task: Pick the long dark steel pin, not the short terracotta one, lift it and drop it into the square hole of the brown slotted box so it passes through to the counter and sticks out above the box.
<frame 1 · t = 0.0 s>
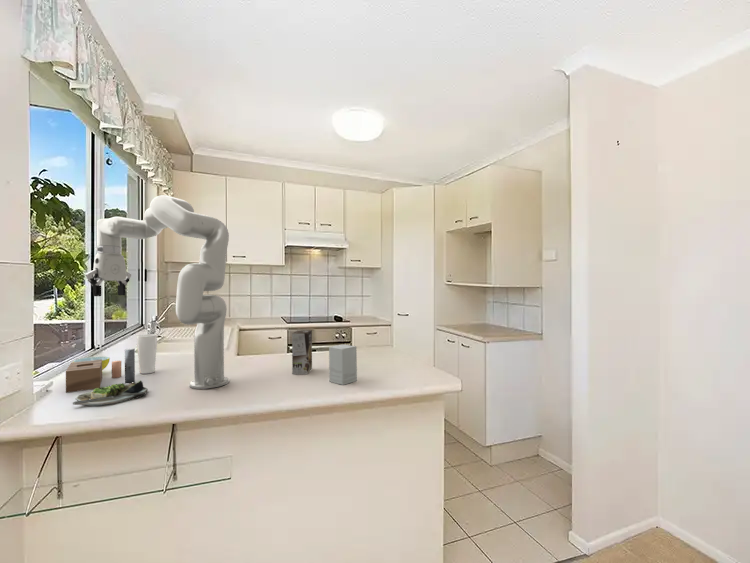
hand: (109, 295, 138), 31 cm above the countertop, tool pointing down, fingers open, 9 cm apart
long pin: (129, 382, 130), on the countertop
brown slotted box: (85, 384, 128), on the countertop
coffee box: (302, 372, 144), on the countertop
supplement box: (343, 381, 130), on the countertop
bowl: (91, 375, 141), on the countertop
drinking glass: (147, 373, 144), on the countertop
salad plate: (115, 398, 114), on the countertop
short pin: (116, 377, 138), on the countertop
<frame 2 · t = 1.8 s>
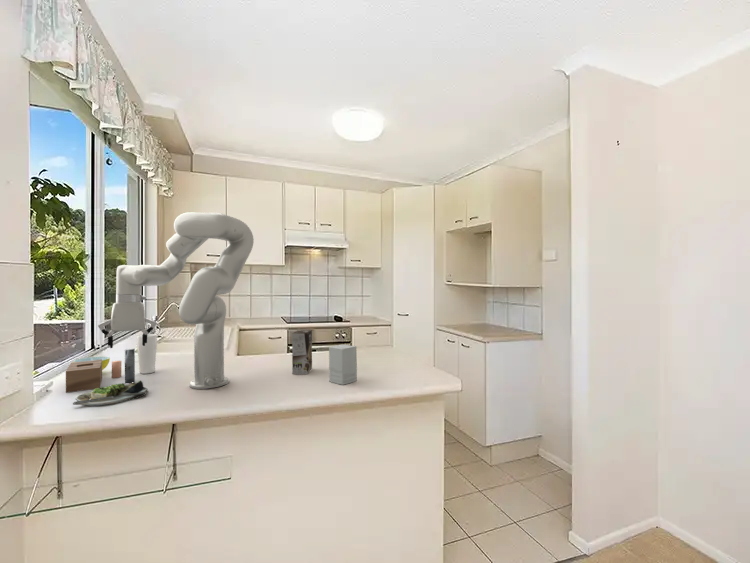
hand: (127, 346, 130), 13 cm above the countertop, tool pointing down, fingers open, 9 cm apart
nothing on the countertop moved.
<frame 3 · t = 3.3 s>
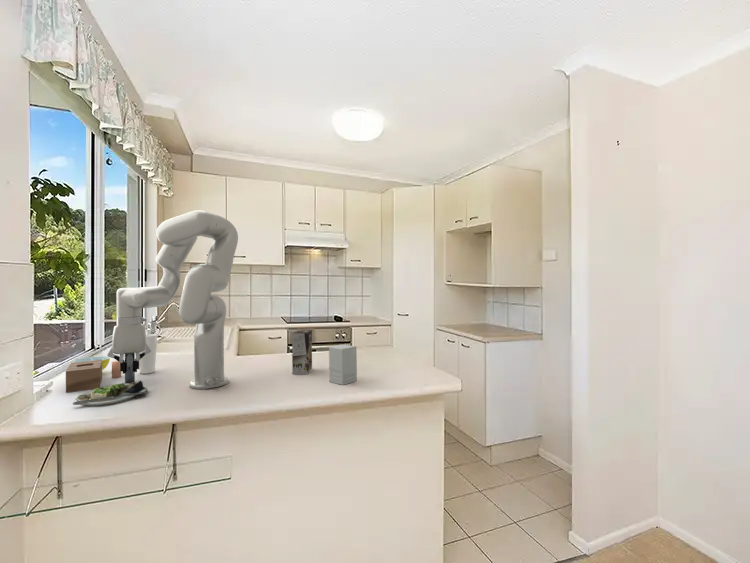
hand: (129, 371, 130), 4 cm above the countertop, tool pointing down, fingers closed on long pin, 3 cm apart
long pin: (129, 382, 130), on the countertop, touching gripper
everything else where it was.
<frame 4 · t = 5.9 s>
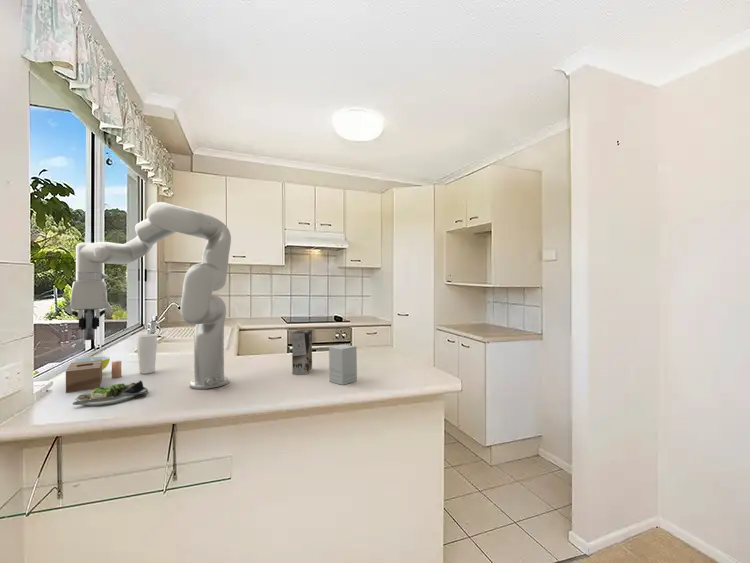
hand: (89, 328, 128), 20 cm above the countertop, tool pointing down, fingers closed on long pin, 3 cm apart
long pin: (89, 339, 128), point 16 cm above the countertop, touching gripper
everything else where it was.
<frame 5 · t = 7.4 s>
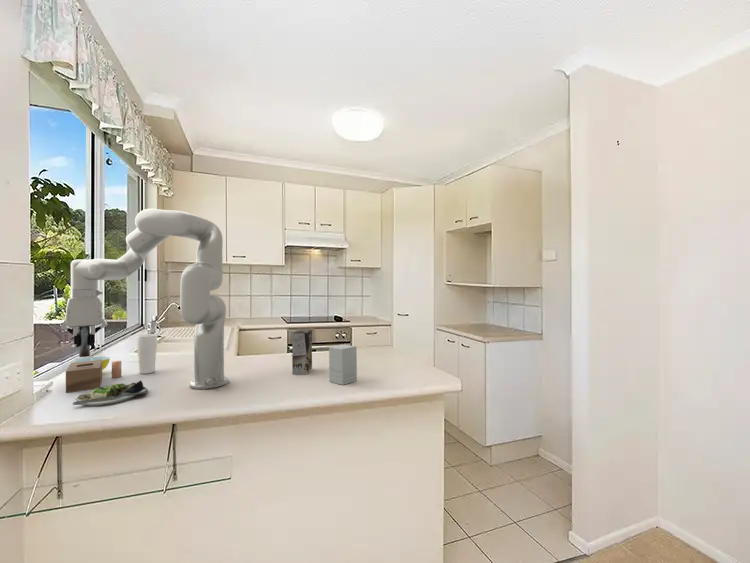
hand: (84, 345, 128), 14 cm above the countertop, tool pointing down, fingers closed on long pin, 3 cm apart
long pin: (84, 356, 128), point 10 cm above the countertop, touching gripper
everything else where it was.
when the fingers open (9 cm above the countertop, at t = 8.8 s): long pin drops 5 cm, resting in brown slotted box.
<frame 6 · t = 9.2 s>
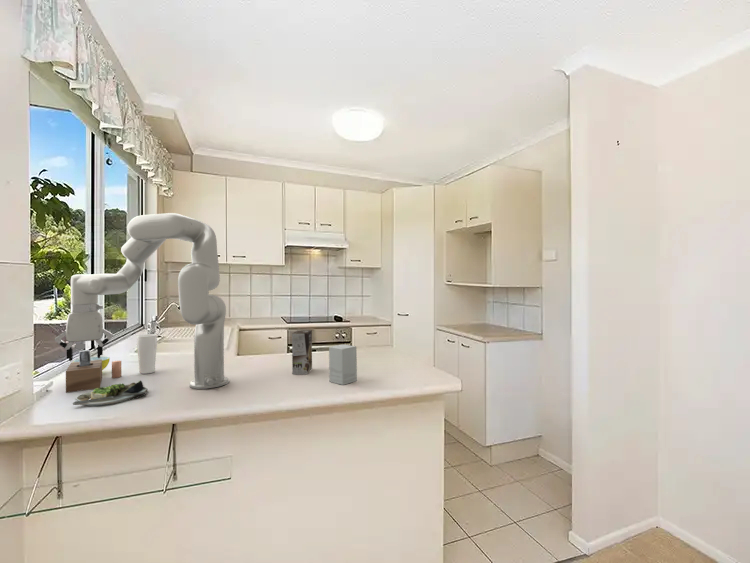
hand: (85, 358, 128), 9 cm above the countertop, tool pointing down, fingers open, 7 cm apart
long pin: (85, 384, 128), resting in brown slotted box
everything else where it was.
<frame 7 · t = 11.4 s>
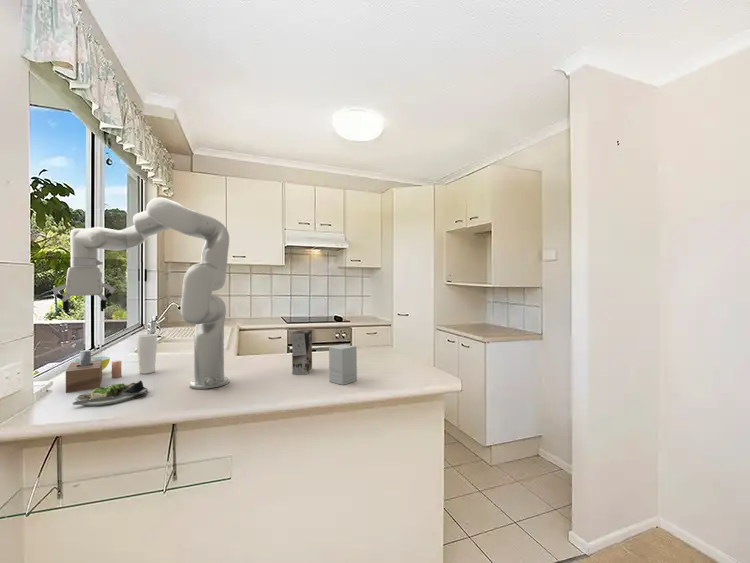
hand: (85, 311, 128), 26 cm above the countertop, tool pointing down, fingers open, 9 cm apart
nothing on the countertop moved.
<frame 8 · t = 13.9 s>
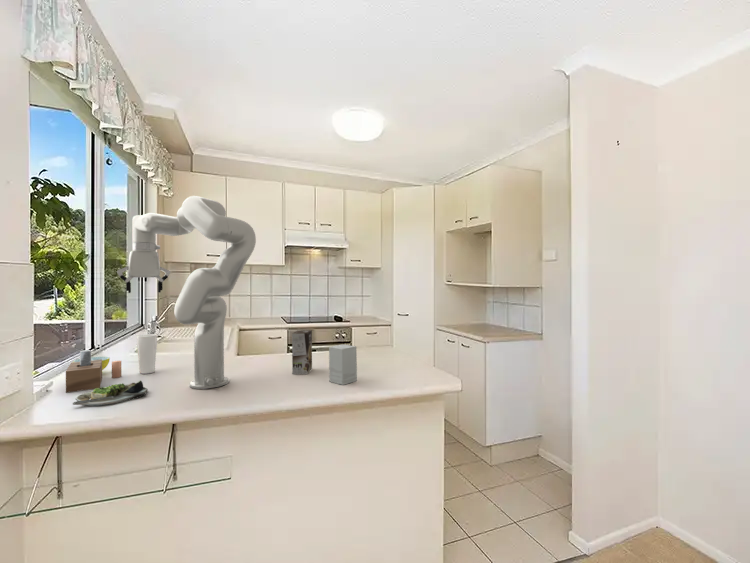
hand: (144, 292, 138), 32 cm above the countertop, tool pointing down, fingers open, 9 cm apart
nothing on the countertop moved.
at the end: long pin 0.1 cm from the brown slotted box (horizontally); long pin resting in brown slotted box; long pin tilted 0° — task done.
